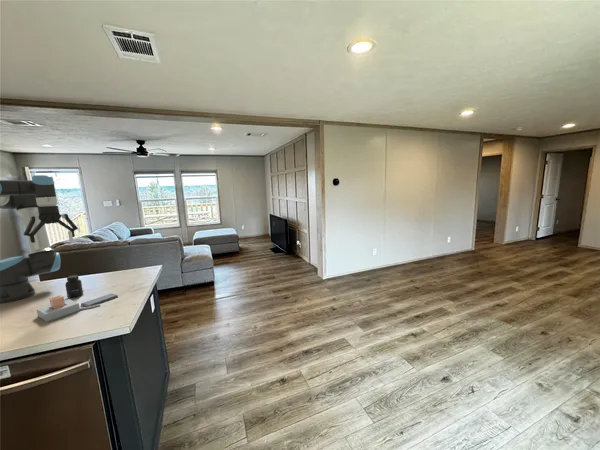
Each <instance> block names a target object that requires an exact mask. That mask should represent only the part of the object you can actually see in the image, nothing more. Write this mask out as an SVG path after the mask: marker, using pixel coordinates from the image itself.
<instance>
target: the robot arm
mask: <svg viewBox="0 0 600 450" xmlns="http://www.w3.org/2000/svg"><path fill="white" fill-rule="evenodd" d="M58 204H59V203H58V199H57V194H56V187H55V181H54V177H53V176H51V175H46V174H45V175H44V174H41V175H40V174H39V175H38V174H36V175H32V176H31V180H25V179H23V180H21V179H20V180H19V179H16V180H13V179H11V180H10V179H7V180H5V179H4V180H3V179H0V209H1V210H12V209H13V210H15V209H16V213H19V214H20V215H21V218H22V221H23V222H22V223H23V225H24V229H25V231H24V232H23V236H25V237H27V241H28V245H29V249H30V252H29V253H28V254H27V256H28V257H24V256H23V255H18V256H13V257H8V258H5V259H0V304H1V303H2V304H3V303H10V301H11V302H15V301H19V300H23V299H26V298H30V297H31V296H34V295H35V294H36V289H35V288H34V286H33V285H32V284H31V283H30V281H29V278H30V277H34V276H39V275H43V274H49V273H52V272H56V271H59V270H60V269H61V265H62V264H61V260H62V259H61V255H60V253H59V251H58V252H56V250H55V249H53V248H51V244H50V240H49V236H48V233H47V228H46V225H48V224H49V225H50V224H57V223H58V224H59V225H60V226H61V227H63V228H65V229H66V230H68V231H67V233H68V234H67V235H68V240H69V244H75V243H74V237H75V231H76V230H79V228H78V227H77V225H76V224H75V223H74V222H73V221H72V220H71V218H69V215H68V213H63V214H61V213H60V208H59V206H58ZM61 218H62V219H64V220H65V221H66V222H67V223H68V224H66V223H65V222H64V221H62V220H61ZM69 225H70V226H69Z"/></svg>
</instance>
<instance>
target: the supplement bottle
mask: <svg viewBox="0 0 600 450" xmlns="http://www.w3.org/2000/svg"><path fill="white" fill-rule="evenodd" d="M64 286H65V290H66V297H67V299H70V300H72V299H75V298H76V299H77V298H80V297H82V296H83V295H84V291H83V289H84V288H83V284H82V280H81V279H79V275H78V274H76V275H69V276H67V277H66V283H65V285H64Z"/></svg>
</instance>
